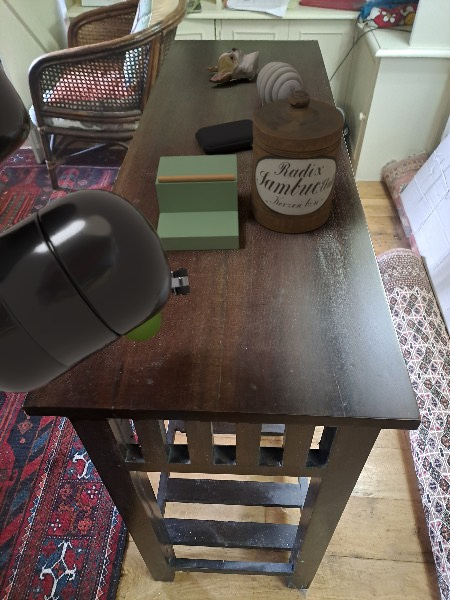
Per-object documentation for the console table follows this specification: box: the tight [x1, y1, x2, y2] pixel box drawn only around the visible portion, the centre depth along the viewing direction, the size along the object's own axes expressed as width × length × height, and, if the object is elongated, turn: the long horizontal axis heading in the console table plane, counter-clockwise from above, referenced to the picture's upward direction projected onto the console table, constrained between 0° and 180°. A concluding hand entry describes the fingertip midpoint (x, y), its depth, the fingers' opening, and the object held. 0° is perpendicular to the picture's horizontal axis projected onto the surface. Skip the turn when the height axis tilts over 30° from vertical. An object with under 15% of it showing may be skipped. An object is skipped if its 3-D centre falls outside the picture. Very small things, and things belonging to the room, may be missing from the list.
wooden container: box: [250, 90, 345, 234], centre depth 79 cm, size 15×15×22 cm
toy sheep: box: [256, 61, 304, 107], centre depth 111 cm, size 11×17×11 cm, turn 31°
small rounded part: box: [124, 311, 163, 342], centre depth 54 cm, size 5×6×12 cm
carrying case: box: [194, 118, 253, 155], centre depth 103 cm, size 11×3×15 cm
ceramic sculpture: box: [205, 47, 261, 84], centre depth 126 cm, size 11×9×15 cm
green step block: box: [155, 154, 240, 252], centre depth 81 cm, size 14×16×10 cm
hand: (130, 290), depth 55 cm, fingers closed on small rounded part, 6 cm apart
